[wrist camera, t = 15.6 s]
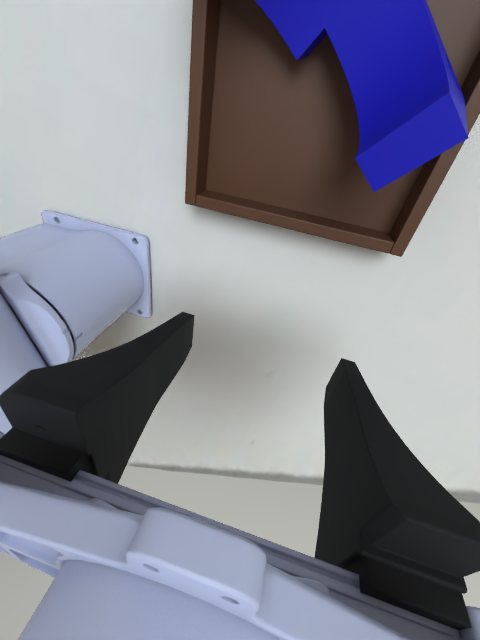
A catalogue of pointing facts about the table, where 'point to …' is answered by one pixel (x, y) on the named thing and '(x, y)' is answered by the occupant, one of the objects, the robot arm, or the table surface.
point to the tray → (303, 129)
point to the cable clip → (384, 76)
